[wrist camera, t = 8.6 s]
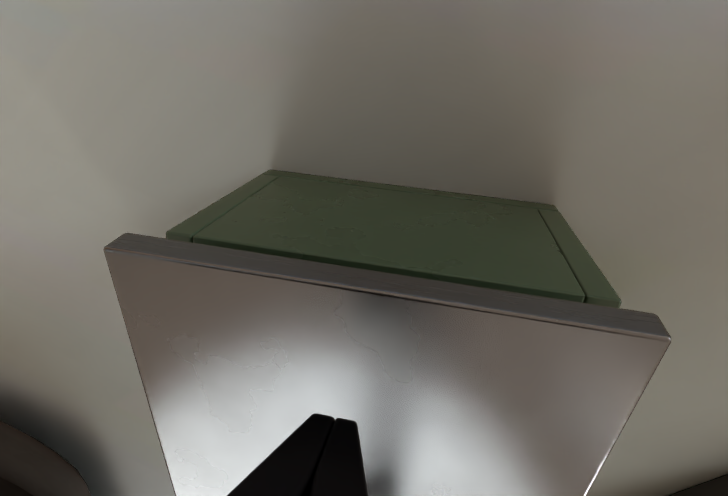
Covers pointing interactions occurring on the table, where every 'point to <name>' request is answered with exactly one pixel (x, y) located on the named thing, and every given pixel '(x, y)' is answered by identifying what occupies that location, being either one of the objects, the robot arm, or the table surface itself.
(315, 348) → the grey flat plate
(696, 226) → the table surface
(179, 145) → the table surface
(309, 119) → the table surface
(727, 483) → the pad
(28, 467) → the casserole
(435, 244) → the dark green boxy piece
